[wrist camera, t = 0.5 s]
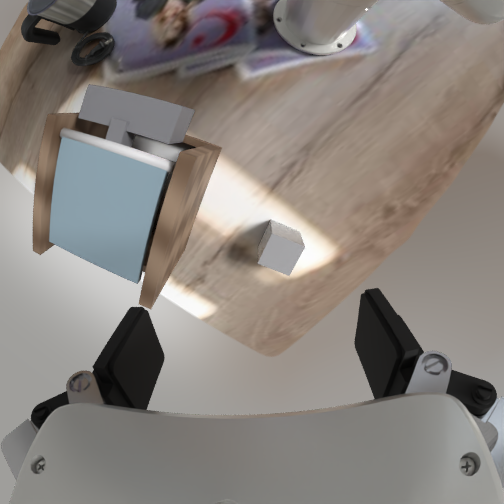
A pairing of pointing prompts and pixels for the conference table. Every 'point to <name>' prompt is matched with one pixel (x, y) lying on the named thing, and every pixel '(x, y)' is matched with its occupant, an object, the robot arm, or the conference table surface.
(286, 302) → the conference table surface
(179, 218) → the stand
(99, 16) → the milk frother
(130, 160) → the trapdoor
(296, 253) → the grey cube-like block
